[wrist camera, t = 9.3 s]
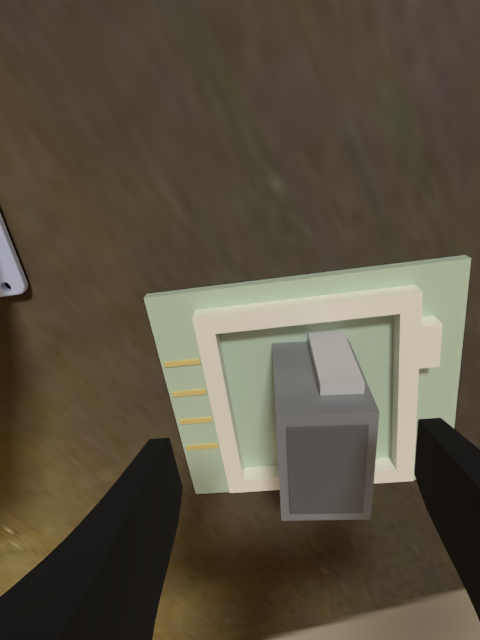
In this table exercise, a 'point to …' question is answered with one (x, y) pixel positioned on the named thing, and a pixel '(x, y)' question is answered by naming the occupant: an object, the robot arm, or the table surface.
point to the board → (293, 326)
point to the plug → (324, 429)
